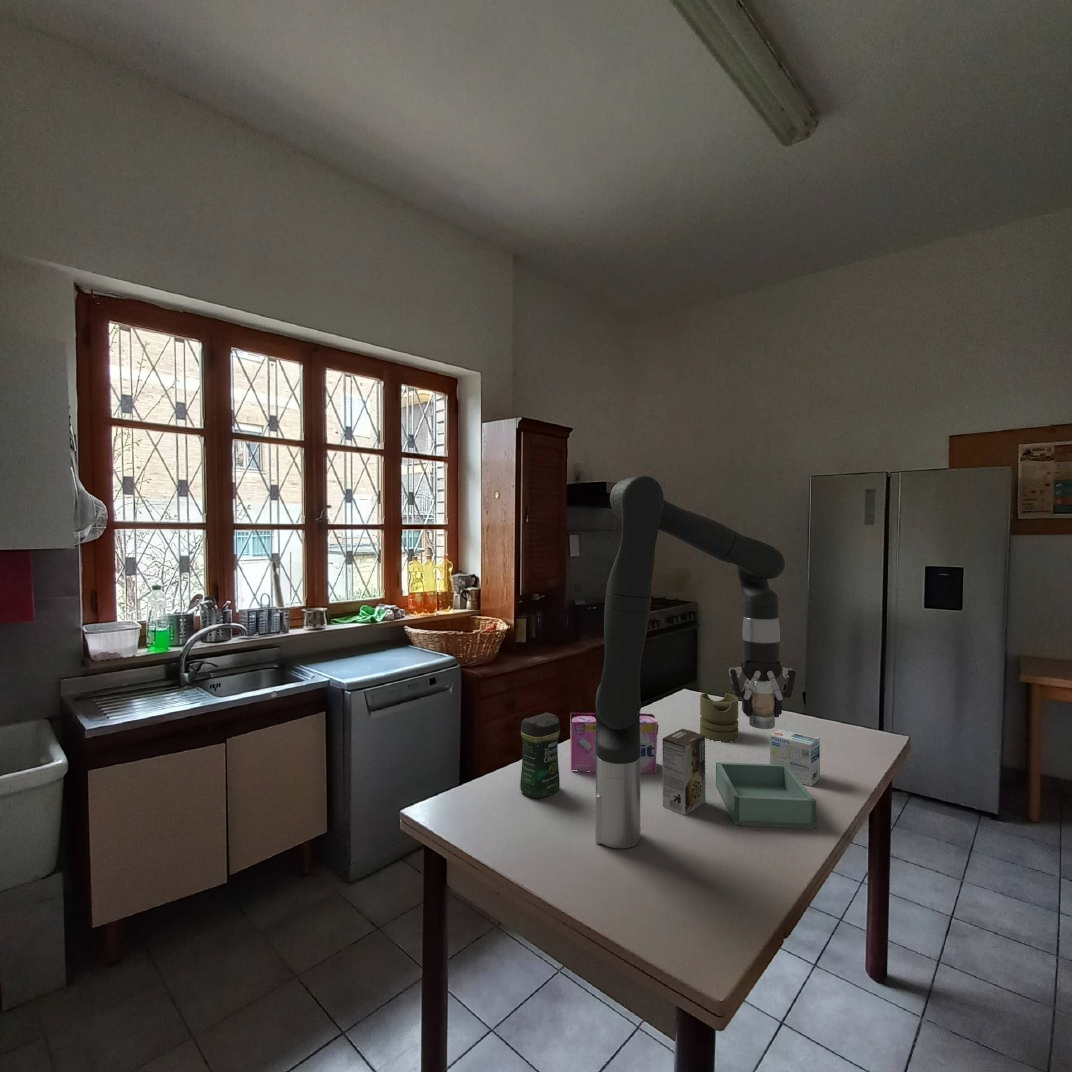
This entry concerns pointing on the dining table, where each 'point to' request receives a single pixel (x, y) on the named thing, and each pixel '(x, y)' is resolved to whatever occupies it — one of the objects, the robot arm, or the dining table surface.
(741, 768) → the green tray
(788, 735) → the light bulb box
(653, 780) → the dining table surface
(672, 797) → the coffee box
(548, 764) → the coffee jar
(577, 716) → the gum box
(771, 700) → the shiny silver brown cylinder
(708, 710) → the piston
